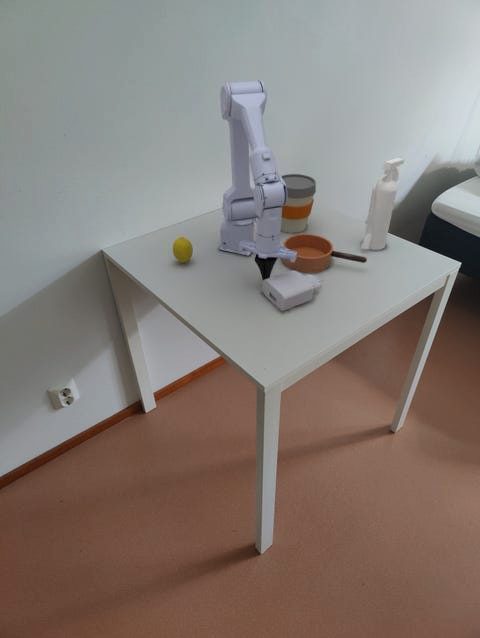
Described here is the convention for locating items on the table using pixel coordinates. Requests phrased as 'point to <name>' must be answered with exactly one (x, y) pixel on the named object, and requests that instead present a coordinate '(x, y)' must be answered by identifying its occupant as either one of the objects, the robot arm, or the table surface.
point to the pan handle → (348, 256)
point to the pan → (309, 252)
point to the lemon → (182, 249)
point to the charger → (290, 289)
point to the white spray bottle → (381, 206)
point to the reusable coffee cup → (297, 202)
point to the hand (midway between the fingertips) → (266, 279)
